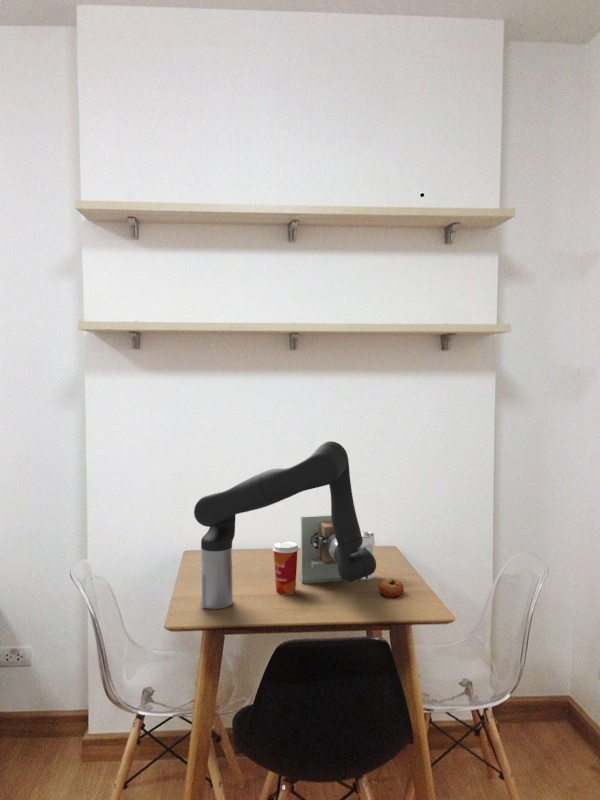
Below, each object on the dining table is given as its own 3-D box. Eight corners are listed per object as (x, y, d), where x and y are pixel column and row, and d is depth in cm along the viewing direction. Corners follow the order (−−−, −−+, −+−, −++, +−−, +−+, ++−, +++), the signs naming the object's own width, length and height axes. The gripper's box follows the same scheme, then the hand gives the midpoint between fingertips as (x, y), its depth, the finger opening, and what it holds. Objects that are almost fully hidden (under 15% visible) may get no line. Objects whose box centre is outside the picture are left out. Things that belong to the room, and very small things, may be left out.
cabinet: (325, 565, 200) (325, 528, 199) (320, 558, 207) (320, 522, 206) (340, 564, 201) (340, 527, 200) (335, 557, 208) (335, 521, 207)
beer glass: (350, 579, 210) (350, 535, 209) (357, 573, 217) (358, 530, 216) (370, 582, 207) (370, 537, 207) (377, 576, 214) (377, 532, 213)
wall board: (305, 589, 201) (305, 521, 200) (299, 578, 212) (299, 513, 210) (356, 585, 205) (356, 518, 204) (348, 575, 215) (348, 511, 214)
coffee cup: (269, 588, 202) (269, 542, 201) (293, 585, 205) (293, 540, 204) (277, 597, 194) (277, 549, 193) (302, 594, 197) (302, 546, 196)
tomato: (377, 594, 193) (380, 572, 197) (375, 602, 198) (379, 580, 203) (403, 599, 192) (406, 577, 196) (400, 608, 197) (403, 585, 201)
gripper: (363, 535, 192) (349, 522, 207) (318, 538, 189) (307, 524, 205) (363, 559, 192) (349, 545, 208) (318, 562, 189) (307, 547, 205)
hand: (328, 535), depth 206 cm, fingers open, 8 cm apart
